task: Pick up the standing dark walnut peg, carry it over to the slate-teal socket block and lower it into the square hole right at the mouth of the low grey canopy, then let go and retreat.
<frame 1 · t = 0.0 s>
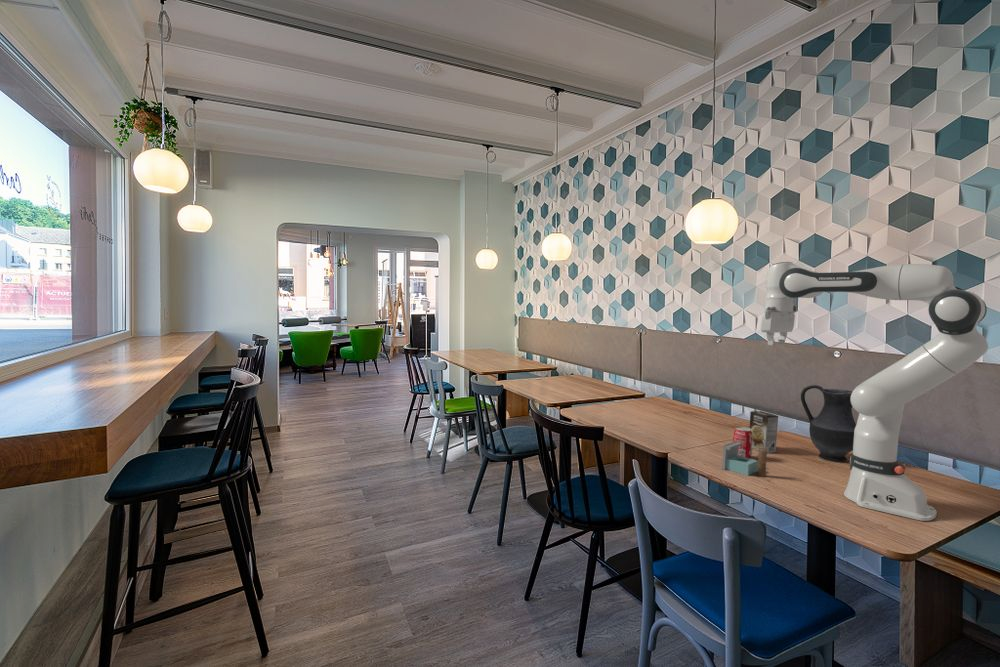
hand: (776, 344, 172), 48 cm above the table, fingers open, 8 cm apart
pitcher: (826, 458, 194), on the table
socket station: (741, 470, 177), on the table
soda can: (741, 458, 192), on the table
coffee box: (761, 450, 204), on the table
peg: (761, 475, 171), on the table
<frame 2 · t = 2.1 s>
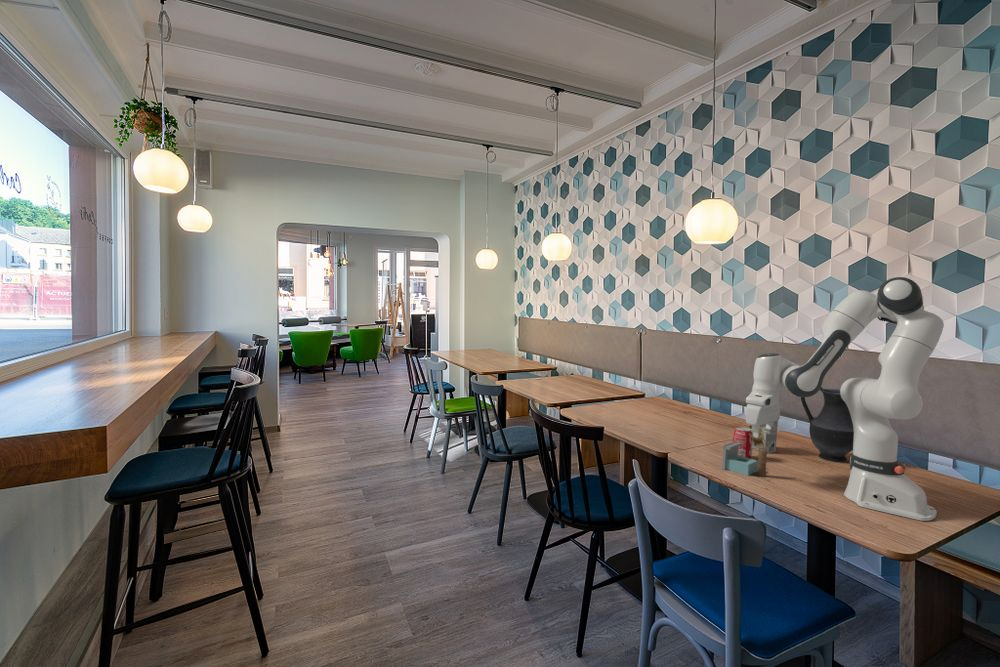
hand: (762, 435, 170), 15 cm above the table, fingers open, 8 cm apart
nothing on the table moved.
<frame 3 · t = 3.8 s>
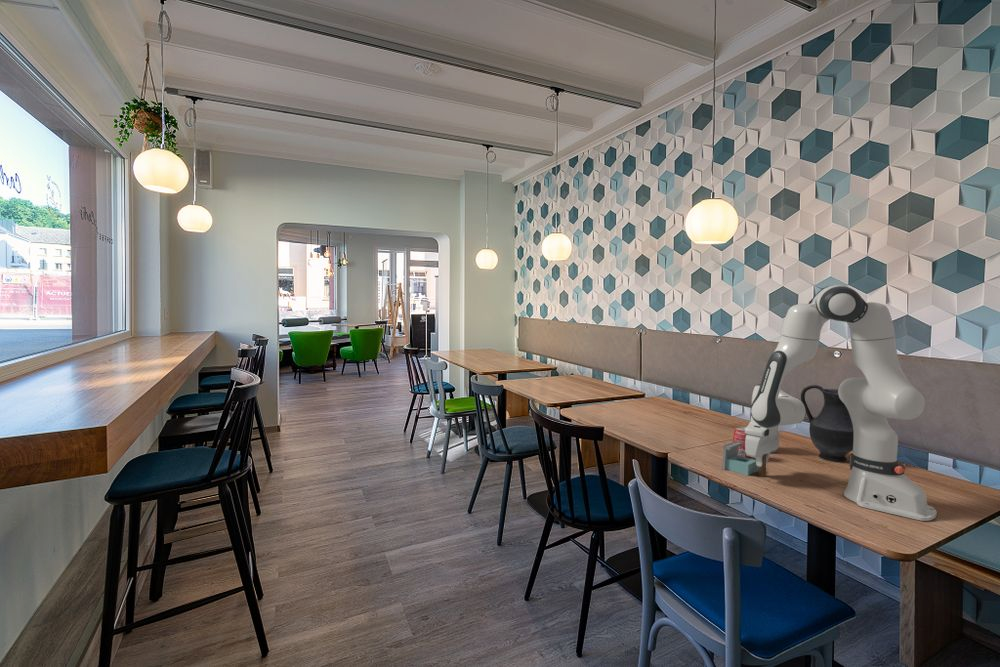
hand: (761, 464, 171), 4 cm above the table, fingers closed on peg, 3 cm apart
peg: (761, 475, 171), on the table, touching gripper
everything else where it was.
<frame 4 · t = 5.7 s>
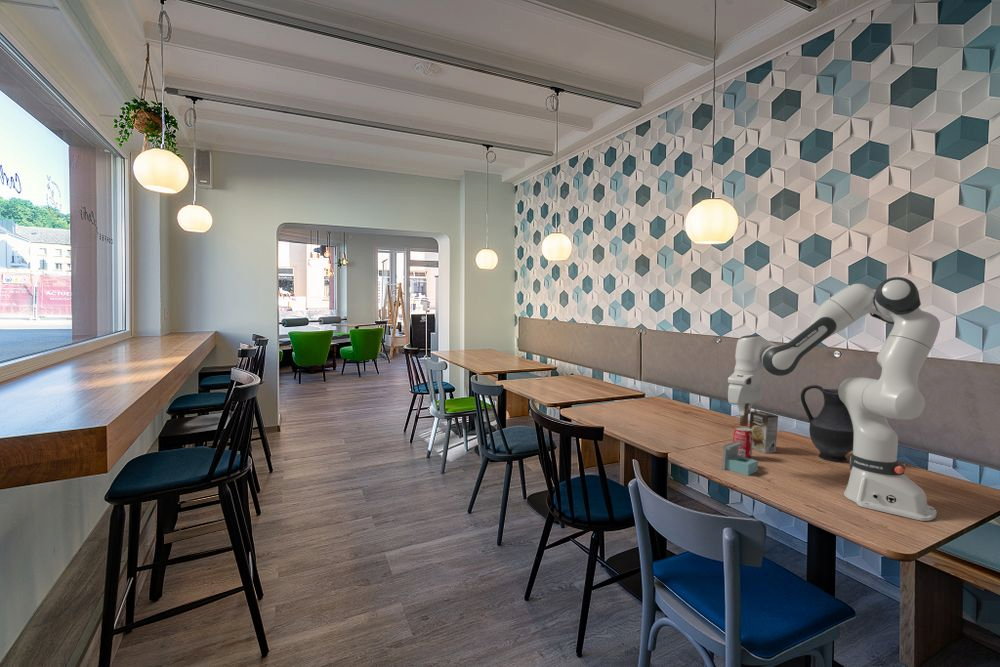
hand: (744, 414, 175), 21 cm above the table, fingers closed on peg, 3 cm apart
peg: (743, 425, 176), point 17 cm above the table, touching gripper
everything else where it was.
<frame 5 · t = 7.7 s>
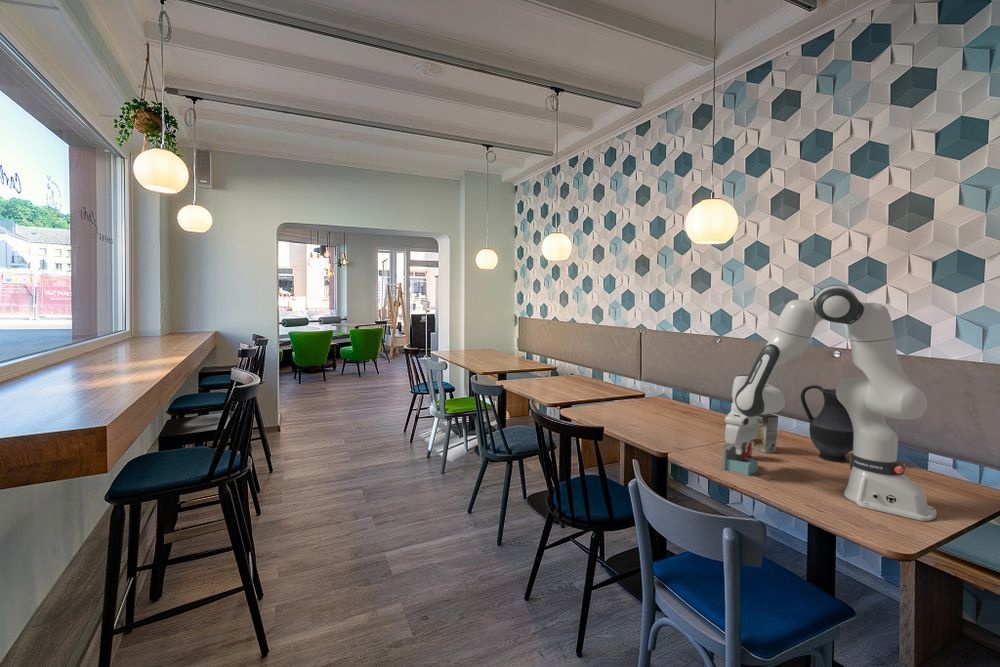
hand: (741, 453, 176), 7 cm above the table, fingers closed on peg, 3 cm apart
peg: (740, 460, 176), point 4 cm above the table, touching gripper, socket station
everything else where it was.
when the fingers open (6 cm above the table, at t = 8.1 s): peg drops 4 cm, resting in socket station.
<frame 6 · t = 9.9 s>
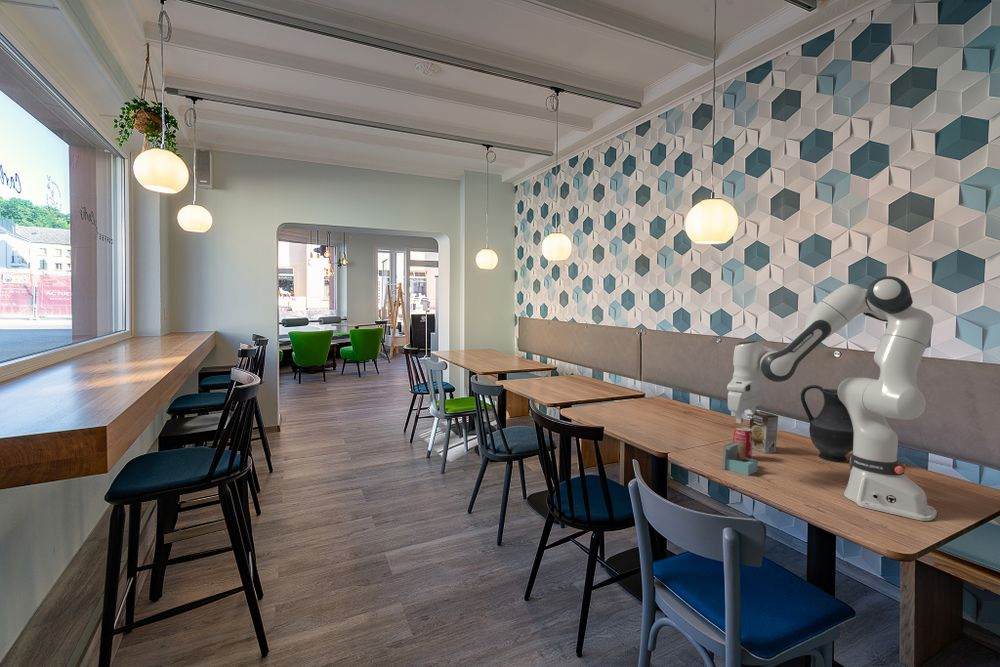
hand: (744, 420, 175), 19 cm above the table, fingers open, 8 cm apart
peg: (740, 470, 176), resting in socket station
everything else where it was.
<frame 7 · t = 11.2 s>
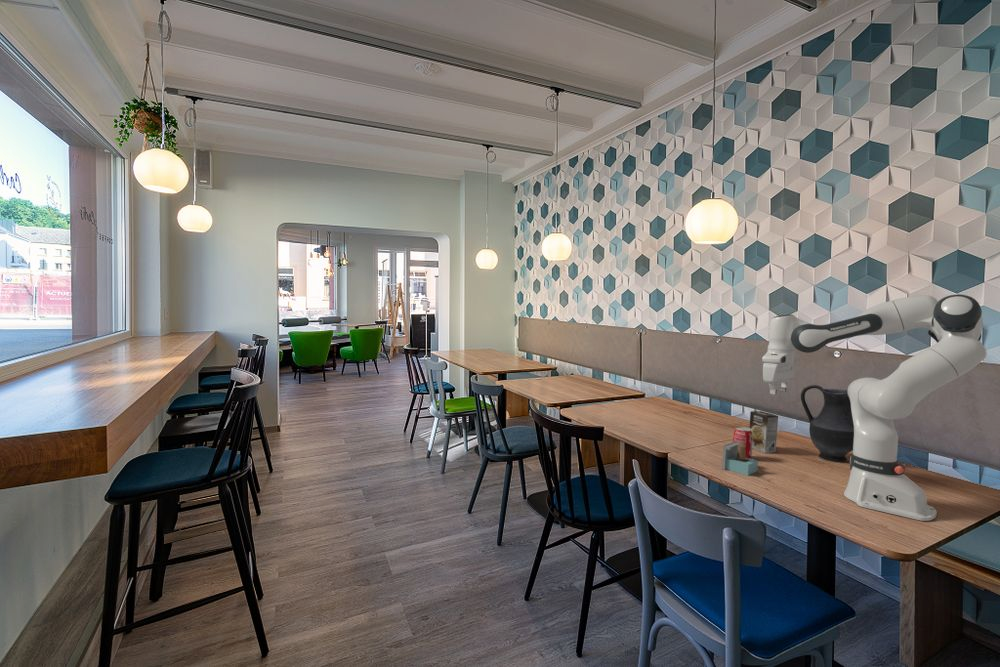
hand: (778, 392, 179), 29 cm above the table, fingers open, 8 cm apart
nothing on the table moved.
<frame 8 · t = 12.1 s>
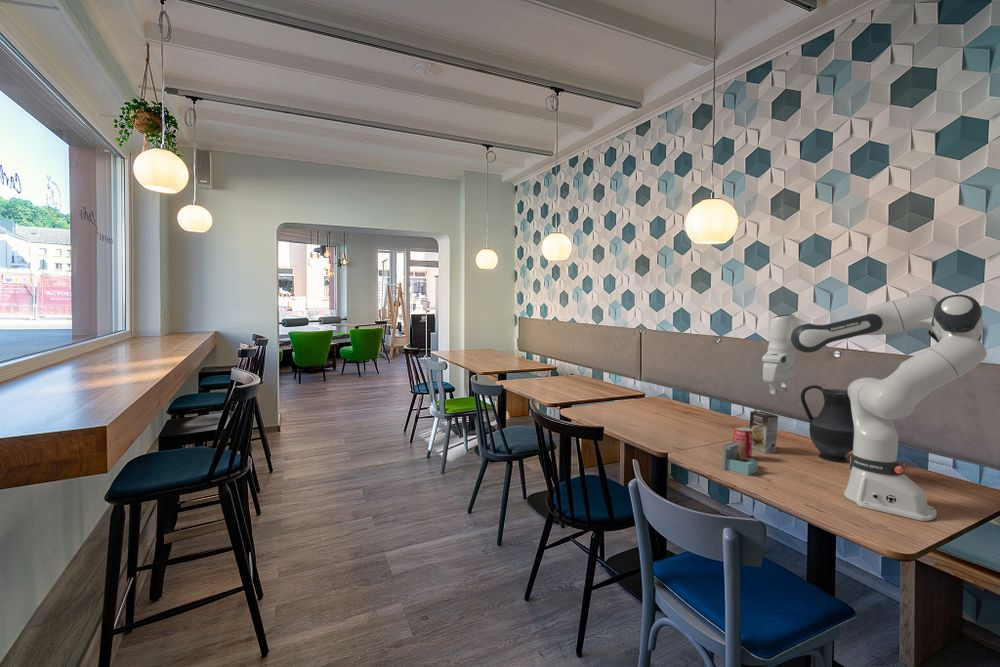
hand: (778, 392, 179), 29 cm above the table, fingers open, 8 cm apart
nothing on the table moved.
at the end: peg 0.7 cm off-centre on the socket station, point 0.0 cm above the socket station's base; peg tilted 0°; the gripper is holding nothing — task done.
